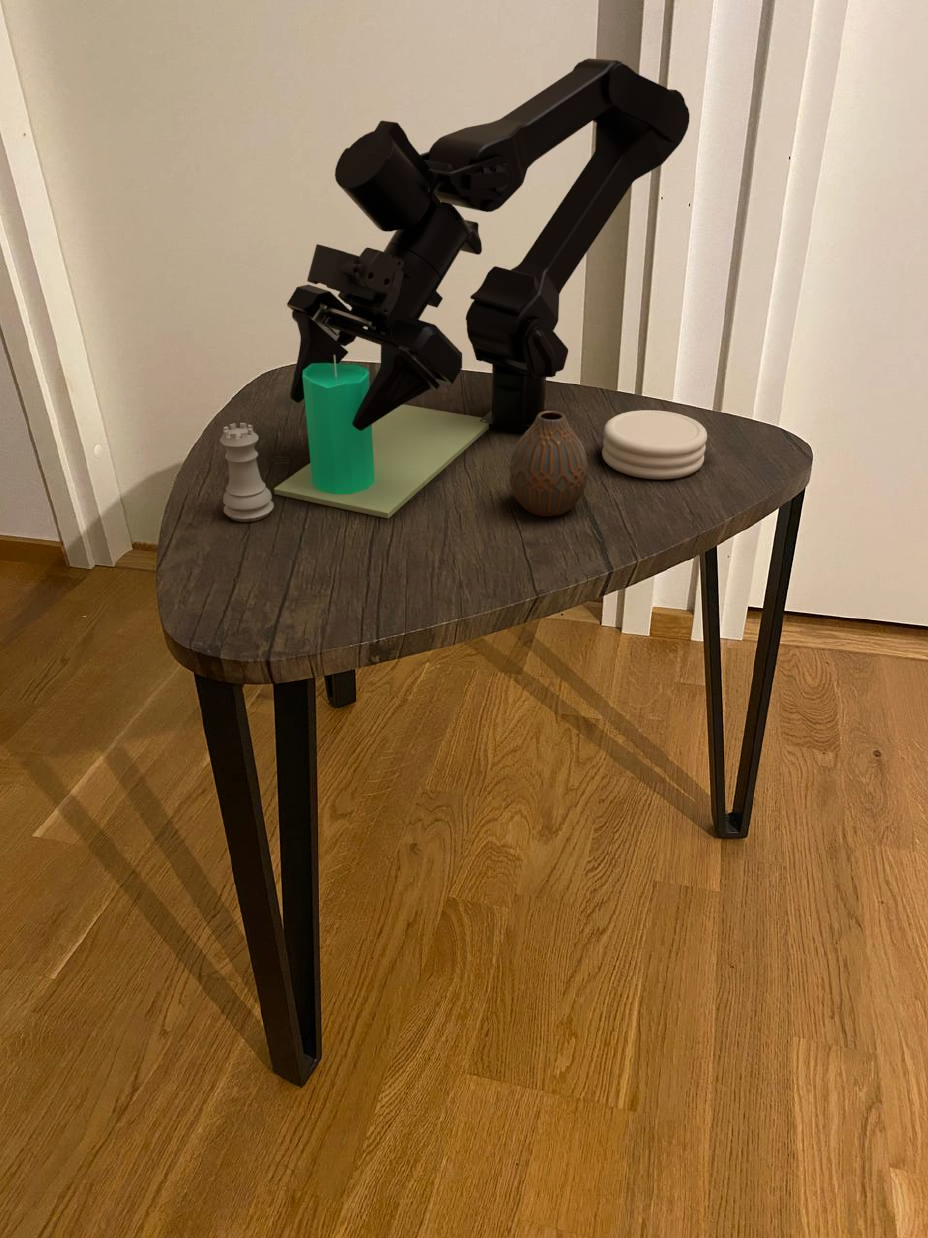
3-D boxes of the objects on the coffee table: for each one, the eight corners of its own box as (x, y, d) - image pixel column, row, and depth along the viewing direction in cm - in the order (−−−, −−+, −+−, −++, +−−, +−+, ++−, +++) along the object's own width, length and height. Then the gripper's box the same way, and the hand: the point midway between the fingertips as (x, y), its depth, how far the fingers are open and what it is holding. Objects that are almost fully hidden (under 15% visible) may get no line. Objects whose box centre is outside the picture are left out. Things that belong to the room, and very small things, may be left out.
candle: (298, 482, 92) (285, 357, 85) (343, 461, 96) (334, 340, 89) (344, 500, 89) (334, 371, 82) (388, 478, 93) (383, 353, 86)
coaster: (593, 474, 95) (595, 440, 93) (610, 435, 103) (613, 403, 101) (698, 487, 92) (703, 452, 90) (707, 446, 100) (712, 414, 98)
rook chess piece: (230, 527, 86) (217, 441, 81) (219, 506, 89) (206, 423, 85) (279, 518, 87) (270, 433, 83) (267, 497, 91) (257, 415, 86)
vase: (580, 527, 86) (587, 433, 81) (502, 520, 87) (505, 427, 82) (588, 493, 91) (595, 403, 86) (515, 487, 92) (517, 397, 88)
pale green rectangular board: (394, 407, 109) (394, 402, 109) (493, 424, 105) (493, 419, 105) (274, 494, 91) (273, 488, 91) (388, 518, 87) (387, 512, 87)
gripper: (294, 190, 87) (203, 340, 87) (435, 222, 76) (331, 394, 75) (368, 267, 96) (286, 403, 96) (504, 305, 85) (412, 460, 84)
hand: (324, 413), depth 87 cm, fingers open, 9 cm apart
